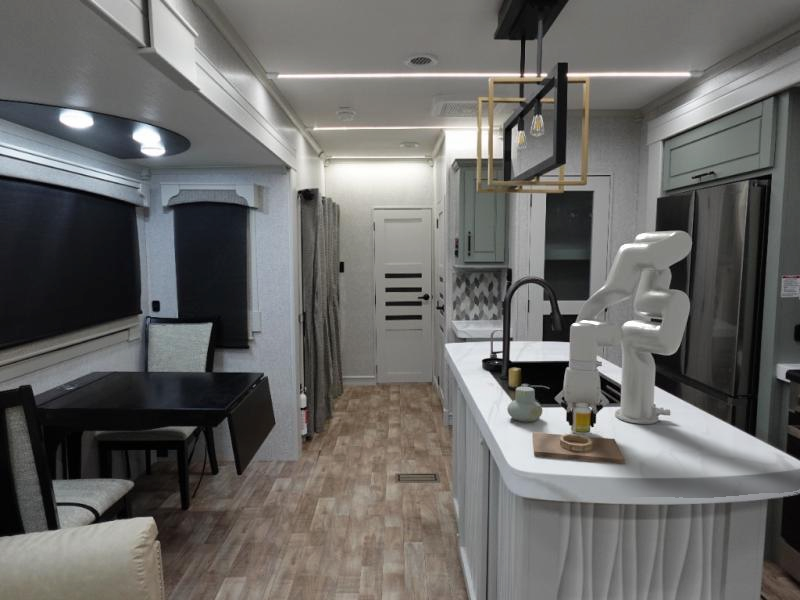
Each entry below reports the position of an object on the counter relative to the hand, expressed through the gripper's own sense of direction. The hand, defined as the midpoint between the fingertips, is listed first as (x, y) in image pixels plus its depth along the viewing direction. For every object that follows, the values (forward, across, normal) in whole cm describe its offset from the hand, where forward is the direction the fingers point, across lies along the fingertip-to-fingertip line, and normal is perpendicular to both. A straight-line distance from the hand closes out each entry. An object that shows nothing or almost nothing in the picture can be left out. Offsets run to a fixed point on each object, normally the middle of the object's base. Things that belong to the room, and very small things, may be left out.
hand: (580, 424), depth 143 cm
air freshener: (+3, +16, -8) cm, 18 cm away
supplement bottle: (+2, 0, 0) cm, 2 cm away
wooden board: (+2, +3, +14) cm, 14 cm away
